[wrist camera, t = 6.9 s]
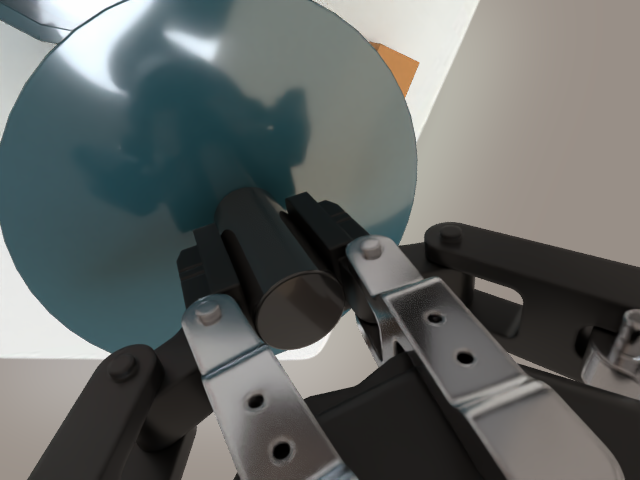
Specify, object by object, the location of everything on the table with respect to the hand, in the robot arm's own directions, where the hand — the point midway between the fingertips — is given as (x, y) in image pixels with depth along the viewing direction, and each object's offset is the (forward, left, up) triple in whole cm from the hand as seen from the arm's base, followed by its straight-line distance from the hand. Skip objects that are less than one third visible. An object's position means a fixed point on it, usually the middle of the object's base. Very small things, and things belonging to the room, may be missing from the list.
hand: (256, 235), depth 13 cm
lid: (0, 0, -2) cm, 2 cm away
